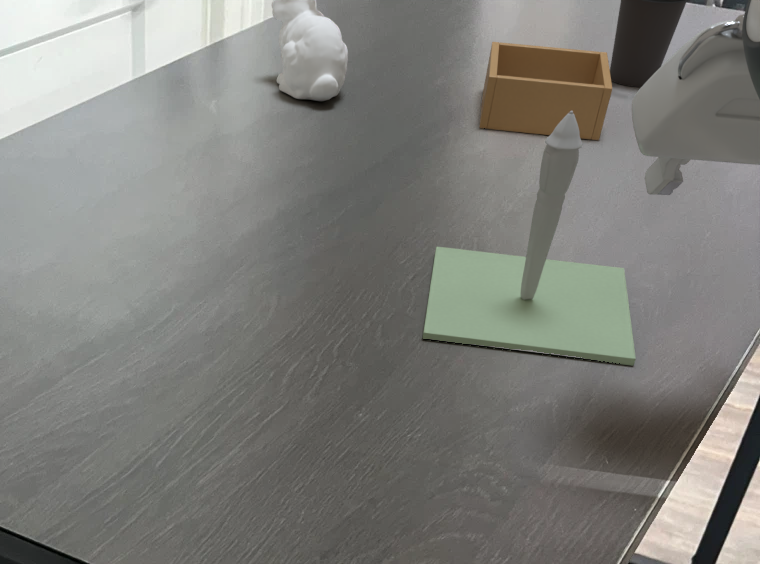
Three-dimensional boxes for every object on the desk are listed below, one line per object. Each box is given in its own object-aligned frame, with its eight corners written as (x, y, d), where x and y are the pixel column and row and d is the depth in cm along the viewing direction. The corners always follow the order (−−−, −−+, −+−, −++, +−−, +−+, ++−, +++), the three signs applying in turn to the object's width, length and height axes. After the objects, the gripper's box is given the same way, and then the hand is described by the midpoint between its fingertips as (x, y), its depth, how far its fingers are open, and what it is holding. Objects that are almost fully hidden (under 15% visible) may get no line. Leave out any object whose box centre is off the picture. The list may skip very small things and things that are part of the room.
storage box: (594, 101, 125) (607, 52, 121) (598, 140, 116) (612, 88, 113) (483, 90, 126) (492, 41, 123) (479, 128, 118) (489, 76, 114)
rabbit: (260, 76, 127) (267, -48, 118) (335, 71, 129) (347, -51, 121) (296, 112, 119) (306, -18, 111) (376, 106, 121) (392, -22, 113)
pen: (547, 305, 88) (596, 116, 78) (516, 307, 88) (561, 117, 78) (535, 290, 90) (581, 104, 80) (504, 293, 90) (547, 105, 79)
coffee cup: (676, 78, 132) (706, -20, 124) (652, 95, 127) (681, -6, 120) (612, 64, 135) (637, -33, 128) (586, 80, 130) (610, -20, 123)
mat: (622, 274, 94) (624, 267, 94) (633, 366, 83) (635, 358, 83) (435, 253, 96) (436, 246, 95) (422, 339, 85) (423, 332, 84)
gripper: (730, 66, 58) (586, 224, 71) (1033, 98, 63) (846, 240, 76) (711, -38, 59) (572, 137, 72) (1010, 1, 64) (830, 158, 77)
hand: (715, 190), depth 74 cm, fingers open, 8 cm apart
